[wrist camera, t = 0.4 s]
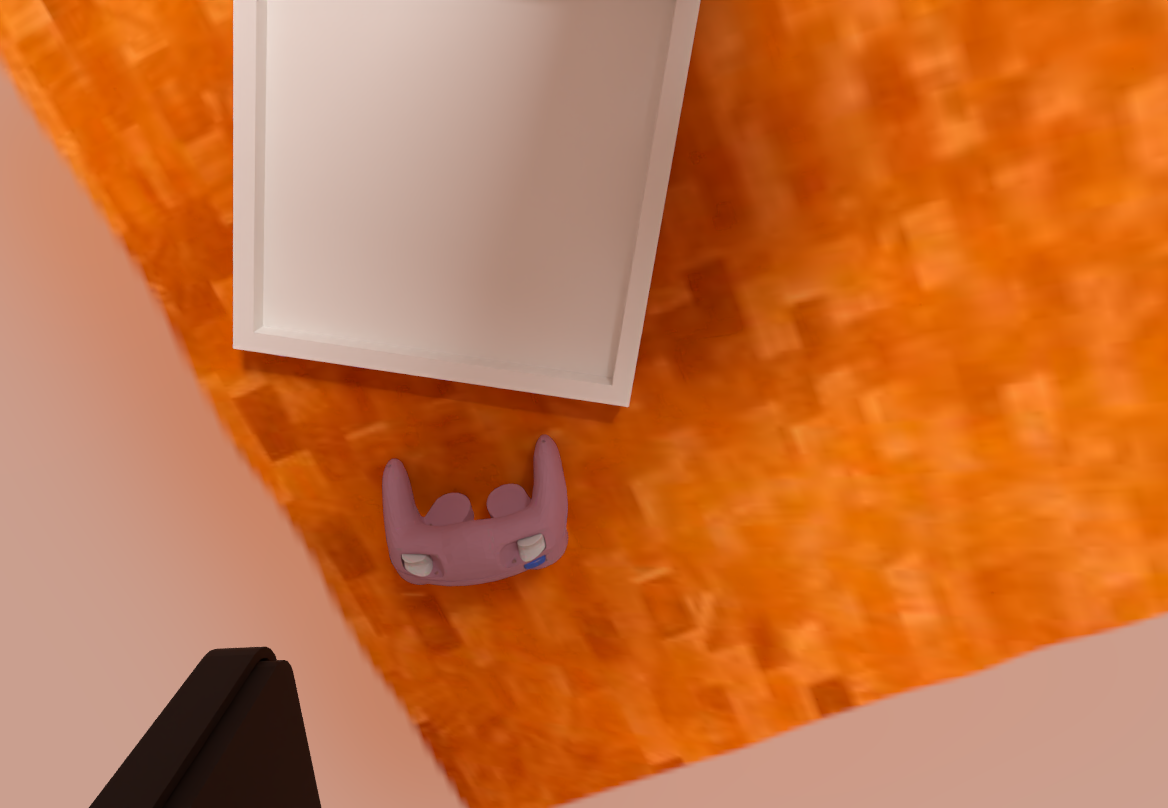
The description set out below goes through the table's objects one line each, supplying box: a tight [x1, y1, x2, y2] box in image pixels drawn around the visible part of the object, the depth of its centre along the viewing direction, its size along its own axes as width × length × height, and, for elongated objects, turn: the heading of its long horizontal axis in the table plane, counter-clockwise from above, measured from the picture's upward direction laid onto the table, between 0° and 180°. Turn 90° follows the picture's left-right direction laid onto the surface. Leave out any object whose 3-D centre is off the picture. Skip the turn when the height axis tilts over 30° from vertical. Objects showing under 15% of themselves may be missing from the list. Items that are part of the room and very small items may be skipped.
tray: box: [233, 0, 701, 407], centre depth 39 cm, size 20×20×2 cm
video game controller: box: [382, 435, 568, 586], centre depth 43 cm, size 10×5×7 cm, turn 100°
